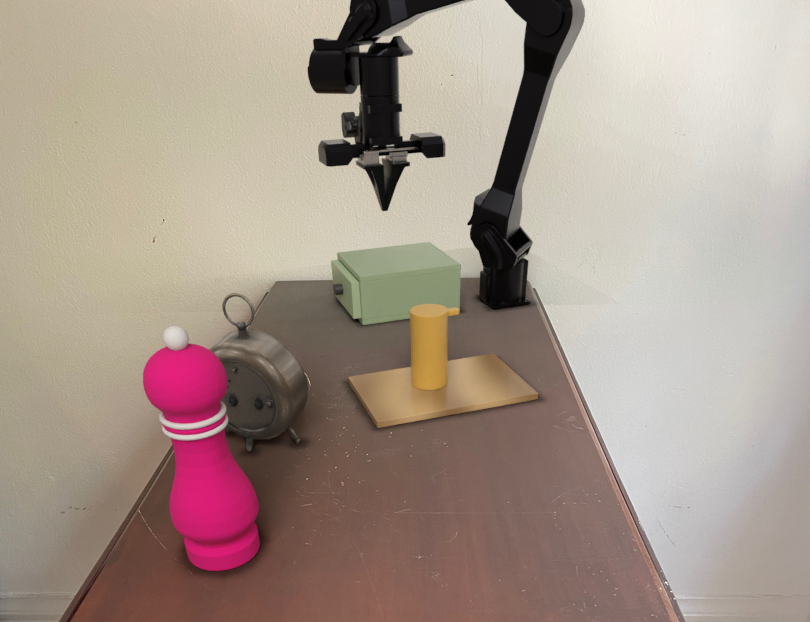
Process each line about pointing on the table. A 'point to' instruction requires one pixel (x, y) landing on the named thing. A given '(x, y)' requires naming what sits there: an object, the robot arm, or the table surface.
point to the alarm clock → (260, 382)
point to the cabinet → (402, 280)
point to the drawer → (346, 288)
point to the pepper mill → (202, 455)
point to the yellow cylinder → (429, 345)
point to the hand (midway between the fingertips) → (384, 210)
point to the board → (440, 391)
